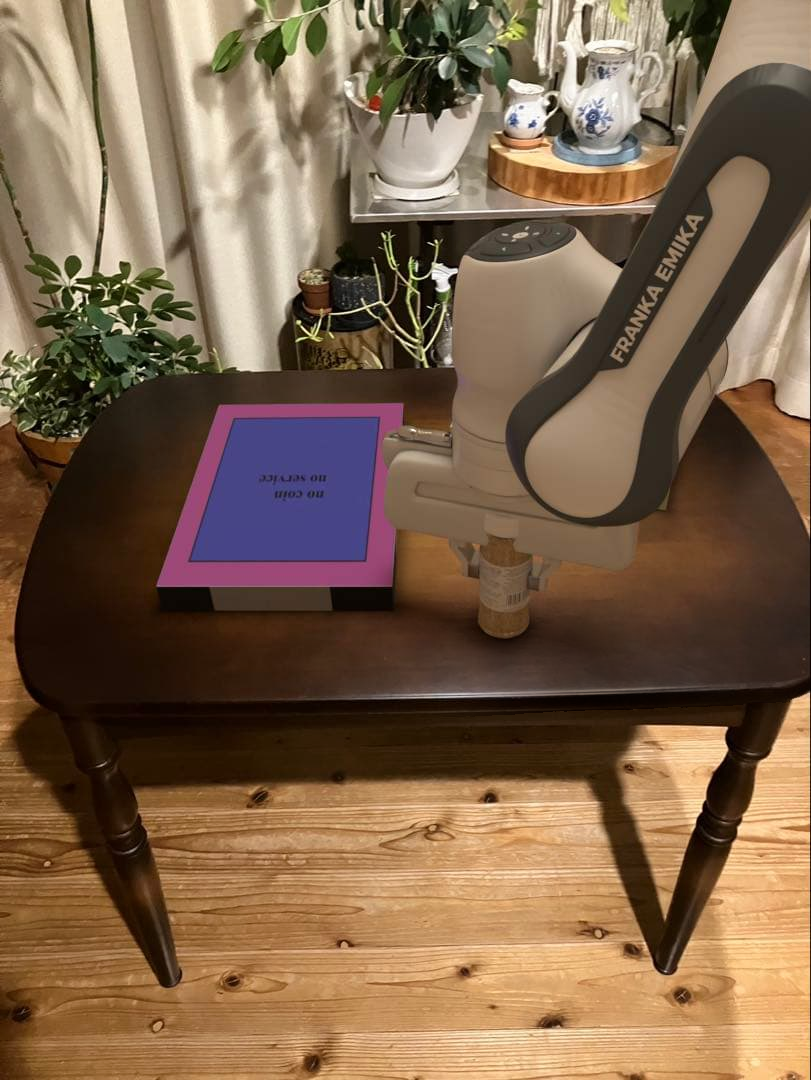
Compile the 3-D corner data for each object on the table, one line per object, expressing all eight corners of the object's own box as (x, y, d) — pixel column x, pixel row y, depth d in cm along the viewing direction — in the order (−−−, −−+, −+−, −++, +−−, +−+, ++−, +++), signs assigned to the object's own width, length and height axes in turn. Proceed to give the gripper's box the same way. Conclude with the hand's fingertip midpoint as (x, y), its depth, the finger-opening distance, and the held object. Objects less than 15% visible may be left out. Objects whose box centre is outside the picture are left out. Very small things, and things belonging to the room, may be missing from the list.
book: (403, 403, 103) (392, 586, 80) (404, 425, 105) (393, 610, 82) (219, 404, 104) (156, 586, 81) (223, 426, 106) (163, 610, 83)
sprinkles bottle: (518, 599, 82) (525, 479, 73) (536, 634, 79) (545, 513, 70) (470, 610, 81) (470, 489, 73) (486, 646, 78) (489, 524, 69)
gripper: (366, 444, 68) (377, 579, 77) (643, 491, 63) (620, 631, 72) (394, 401, 73) (401, 534, 82) (655, 441, 67) (632, 578, 76)
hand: (505, 579), depth 77 cm, fingers closed on sprinkles bottle, 4 cm apart
